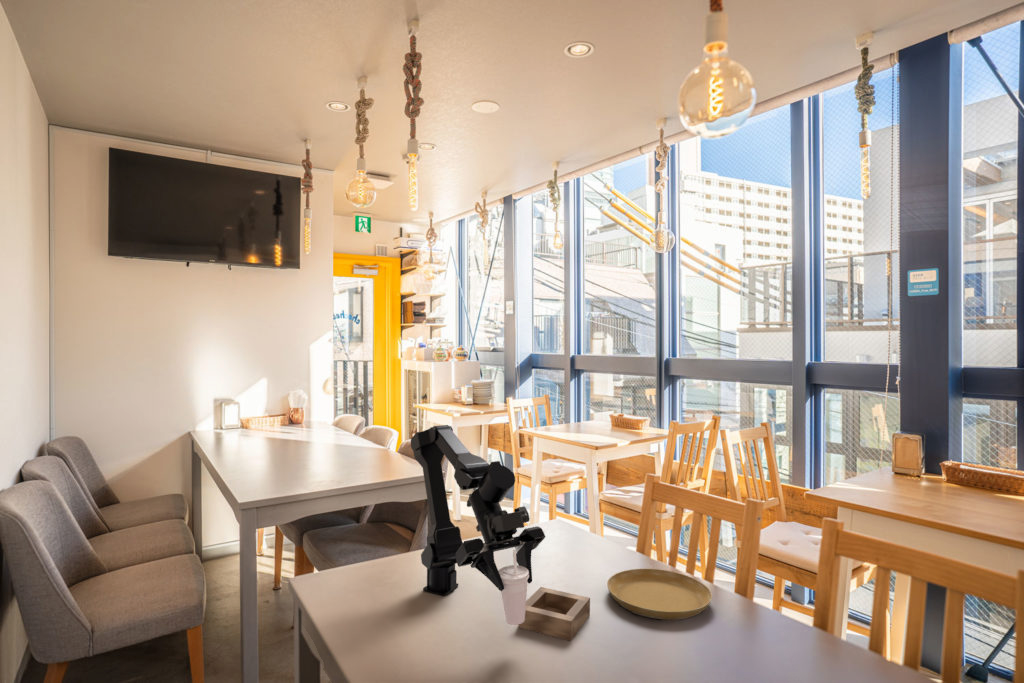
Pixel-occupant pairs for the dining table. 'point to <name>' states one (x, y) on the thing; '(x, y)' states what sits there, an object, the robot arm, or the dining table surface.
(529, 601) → the caddy
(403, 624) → the dining table surface
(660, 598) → the plant saucer
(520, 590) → the smoothie
